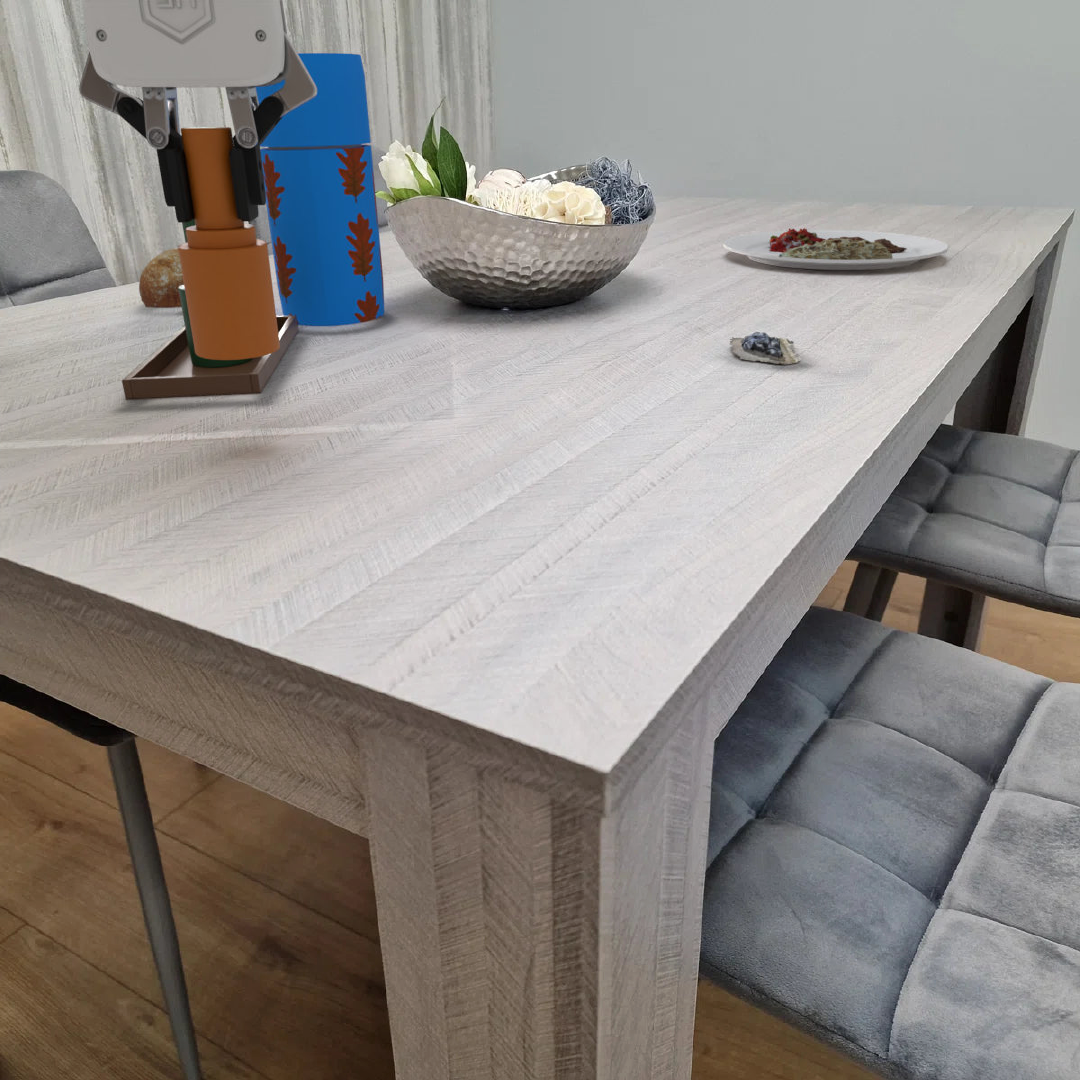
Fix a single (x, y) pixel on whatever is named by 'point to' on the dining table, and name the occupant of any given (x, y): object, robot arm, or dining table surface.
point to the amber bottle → (223, 259)
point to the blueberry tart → (765, 349)
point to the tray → (203, 370)
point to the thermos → (325, 199)
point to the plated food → (835, 249)
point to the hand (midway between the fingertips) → (218, 216)
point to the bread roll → (162, 281)
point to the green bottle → (194, 358)
